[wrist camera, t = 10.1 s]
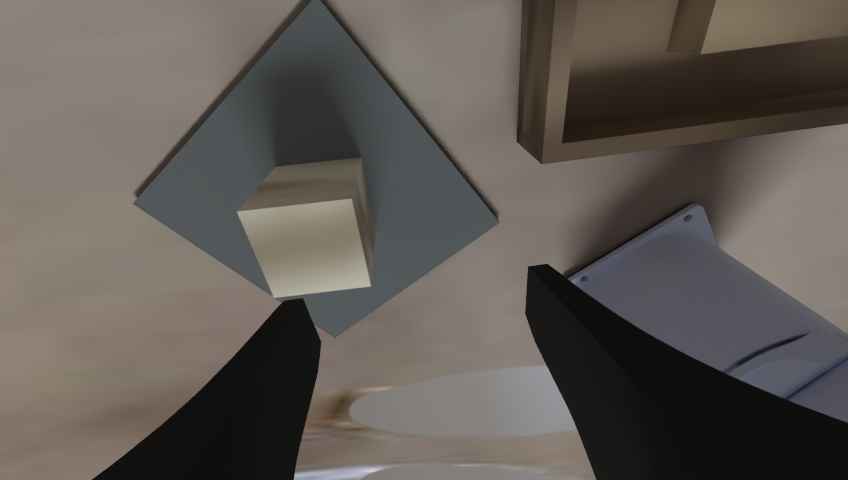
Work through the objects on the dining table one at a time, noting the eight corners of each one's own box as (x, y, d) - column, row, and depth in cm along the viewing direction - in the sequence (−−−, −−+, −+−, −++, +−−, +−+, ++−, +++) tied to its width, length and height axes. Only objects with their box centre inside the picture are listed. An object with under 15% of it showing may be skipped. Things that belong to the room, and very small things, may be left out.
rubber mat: (335, 333, 24) (334, 337, 24) (137, 200, 18) (132, 203, 17) (497, 219, 20) (499, 222, 20) (317, -5, 14) (316, -5, 14)
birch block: (375, 230, 19) (371, 286, 15) (299, 239, 19) (274, 298, 15) (361, 157, 17) (351, 198, 13) (275, 166, 17) (236, 211, 13)
